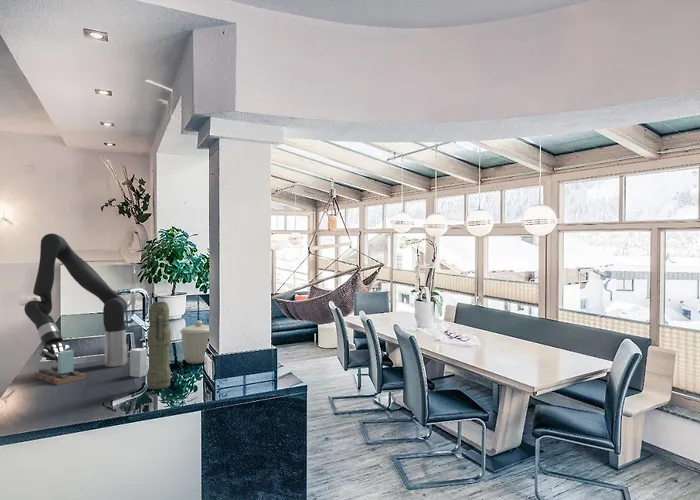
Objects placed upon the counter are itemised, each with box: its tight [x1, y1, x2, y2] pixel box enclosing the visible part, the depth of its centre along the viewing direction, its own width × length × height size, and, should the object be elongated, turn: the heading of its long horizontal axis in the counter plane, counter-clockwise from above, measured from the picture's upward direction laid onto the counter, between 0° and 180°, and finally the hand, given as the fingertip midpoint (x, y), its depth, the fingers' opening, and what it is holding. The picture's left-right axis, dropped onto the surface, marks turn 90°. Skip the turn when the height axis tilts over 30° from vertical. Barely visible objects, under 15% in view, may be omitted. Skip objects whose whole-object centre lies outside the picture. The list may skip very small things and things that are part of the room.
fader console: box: [33, 365, 86, 386], centre depth 189 cm, size 22×11×3 cm, turn 59°
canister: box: [179, 319, 210, 365], centre depth 217 cm, size 18×18×21 cm
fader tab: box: [57, 349, 75, 375], centre depth 186 cm, size 4×5×10 cm
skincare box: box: [129, 347, 148, 378], centre depth 192 cm, size 6×4×12 cm
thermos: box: [146, 301, 172, 390], centre depth 177 cm, size 9×12×35 cm
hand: (63, 365), depth 187 cm, fingers closed
